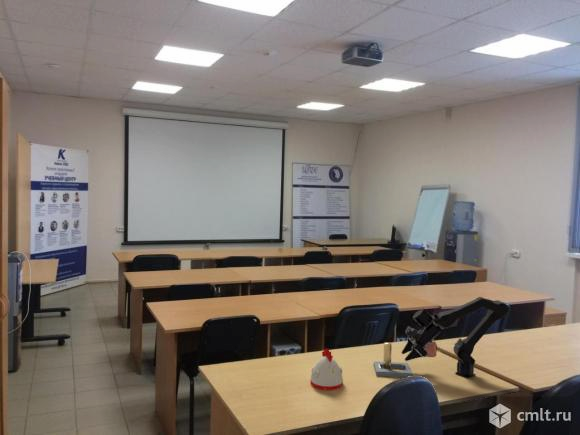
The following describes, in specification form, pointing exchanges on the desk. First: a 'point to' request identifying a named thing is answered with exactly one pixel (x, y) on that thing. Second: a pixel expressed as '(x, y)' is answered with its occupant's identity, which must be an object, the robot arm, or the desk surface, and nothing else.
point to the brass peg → (387, 356)
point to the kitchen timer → (326, 373)
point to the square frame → (392, 373)
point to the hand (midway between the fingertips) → (403, 356)
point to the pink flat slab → (431, 349)
